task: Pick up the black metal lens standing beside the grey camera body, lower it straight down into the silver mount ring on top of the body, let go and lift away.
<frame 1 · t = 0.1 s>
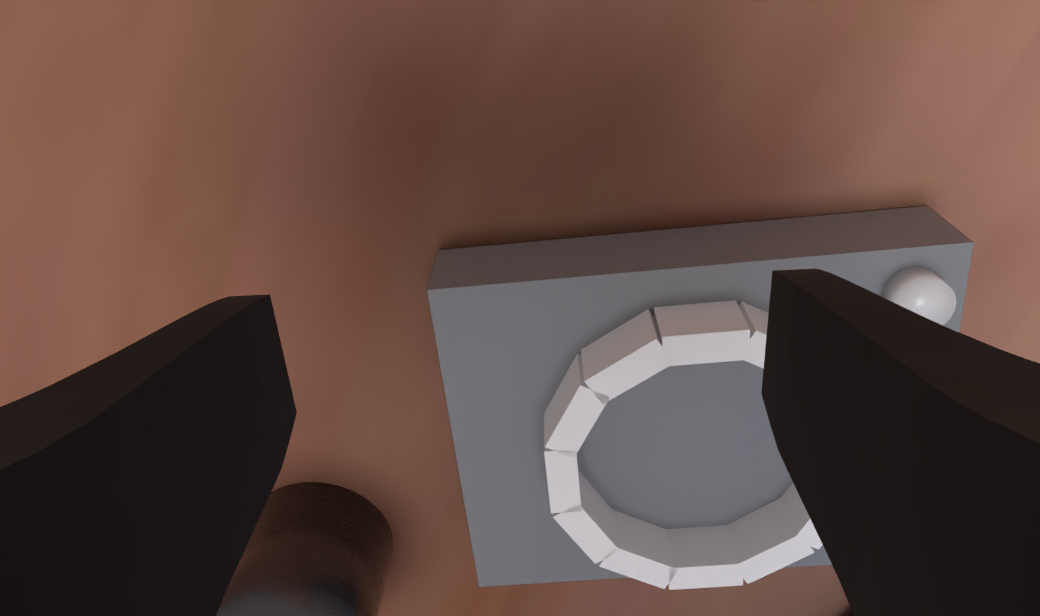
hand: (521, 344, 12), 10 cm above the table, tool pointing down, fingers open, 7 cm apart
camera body: (680, 385, 24), on the table
lens: (320, 539, 27), on the table
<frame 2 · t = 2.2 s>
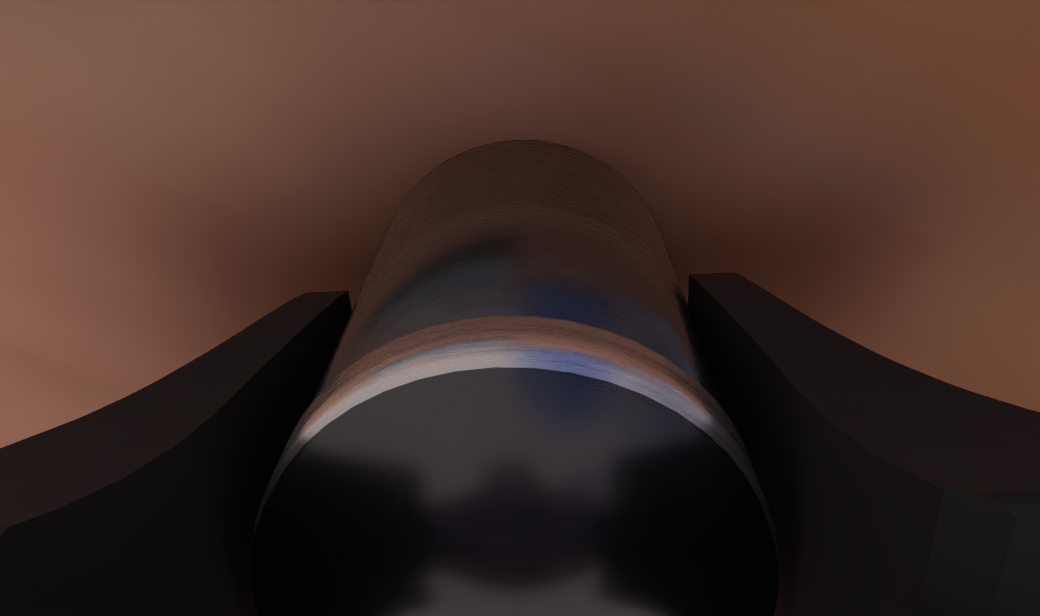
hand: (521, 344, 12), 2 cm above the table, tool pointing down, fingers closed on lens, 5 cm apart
lens: (524, 279, 14), on the table, touching gripper
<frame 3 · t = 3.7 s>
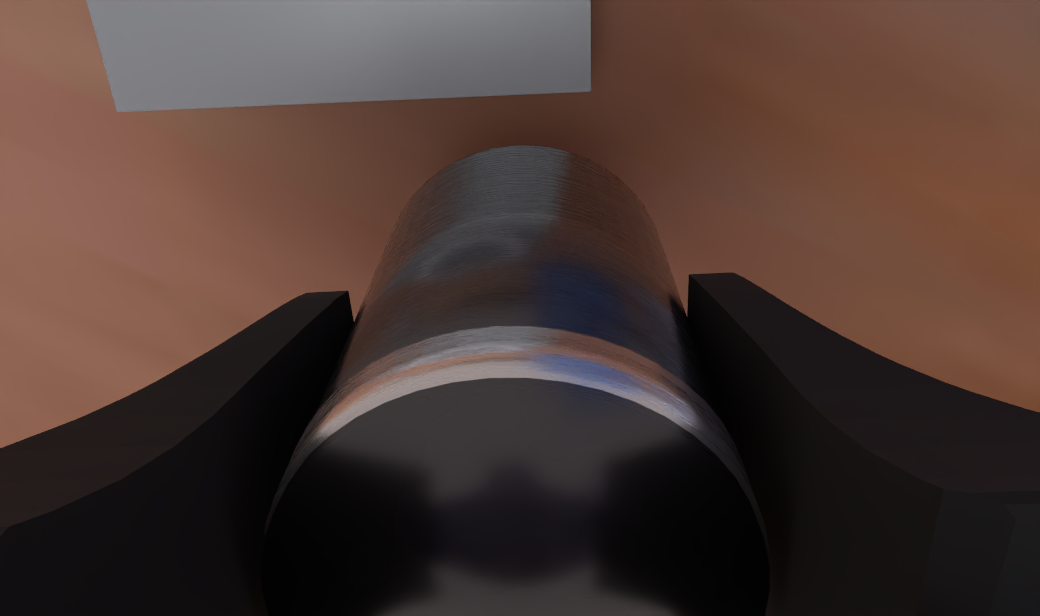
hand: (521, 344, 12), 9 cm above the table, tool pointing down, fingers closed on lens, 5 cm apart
lens: (524, 281, 14), point 7 cm above the table, touching gripper
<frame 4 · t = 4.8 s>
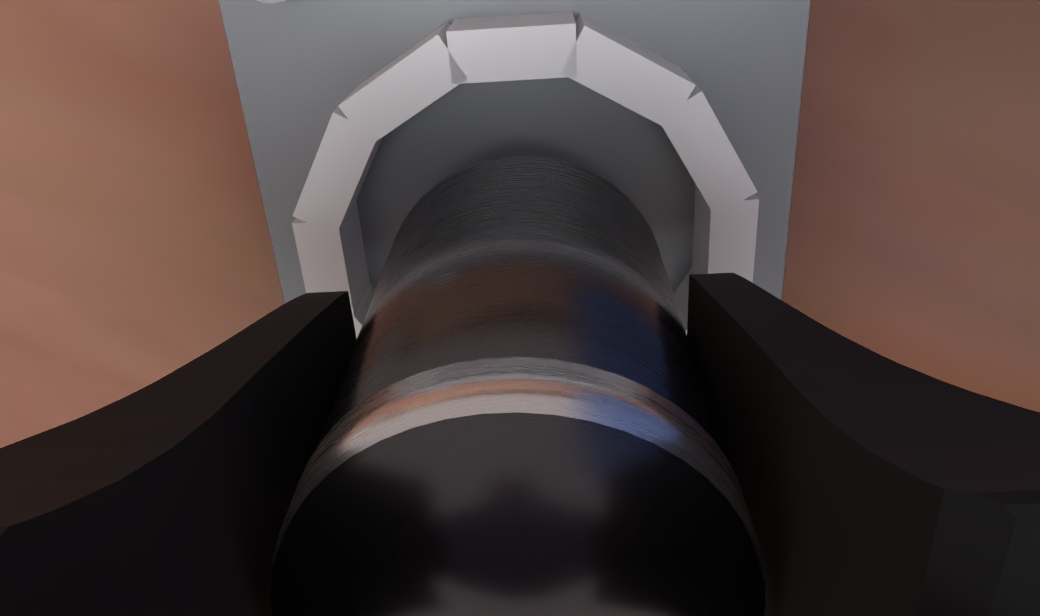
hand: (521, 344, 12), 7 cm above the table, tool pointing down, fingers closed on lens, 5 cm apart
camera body: (528, 191, 18), on the table
lens: (524, 288, 14), point 4 cm above the table, touching gripper
when the fingers open (6 cm above the table, at t = 5.5 s): lens stays where it is, resting on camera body.
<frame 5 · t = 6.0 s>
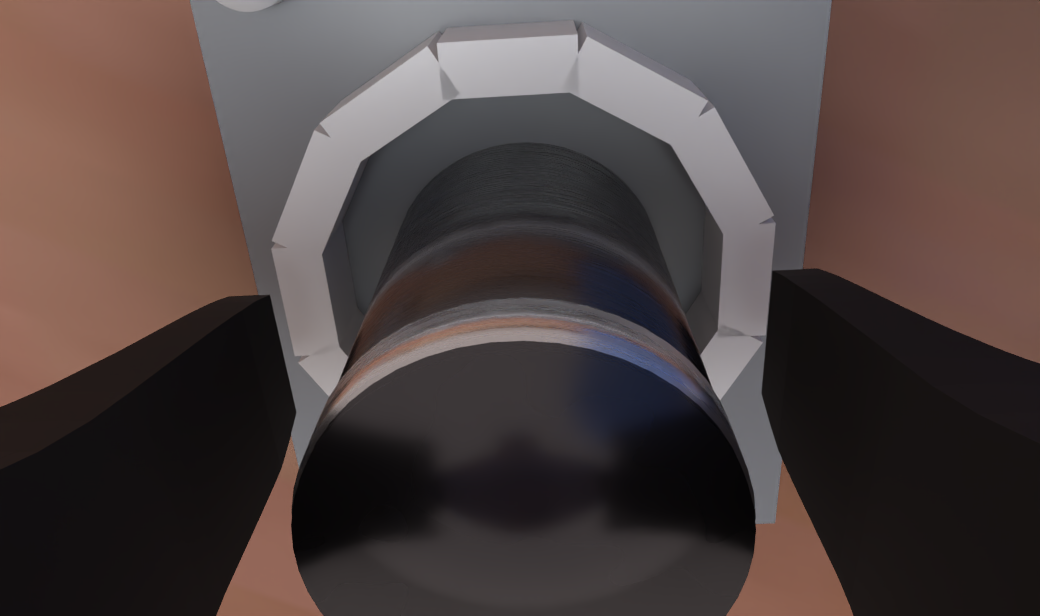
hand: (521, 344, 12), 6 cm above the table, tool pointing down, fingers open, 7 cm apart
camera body: (526, 208, 17), on the table
lens: (526, 272, 15), point 3 cm above the table, touching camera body
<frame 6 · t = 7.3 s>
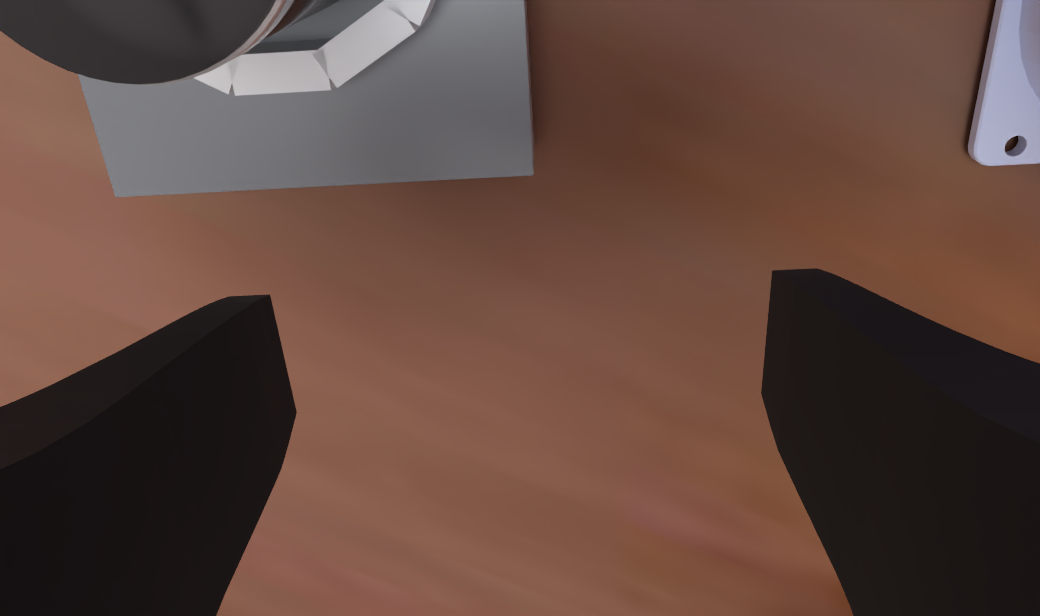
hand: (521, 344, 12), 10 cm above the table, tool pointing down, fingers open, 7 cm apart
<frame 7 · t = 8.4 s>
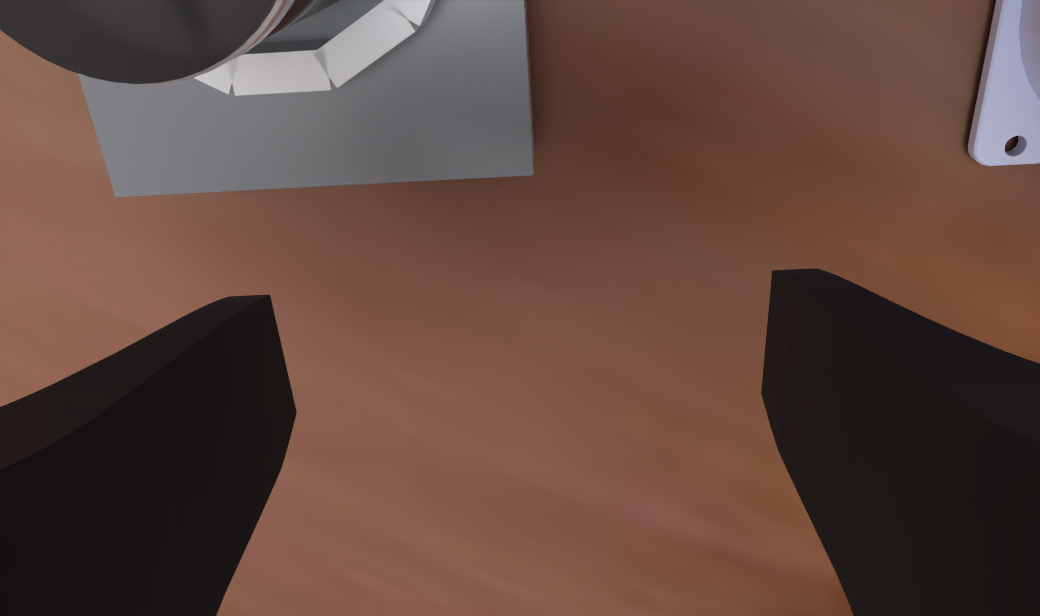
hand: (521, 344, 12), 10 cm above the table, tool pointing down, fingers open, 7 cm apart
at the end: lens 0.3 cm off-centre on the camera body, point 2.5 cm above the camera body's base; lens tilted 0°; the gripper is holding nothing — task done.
